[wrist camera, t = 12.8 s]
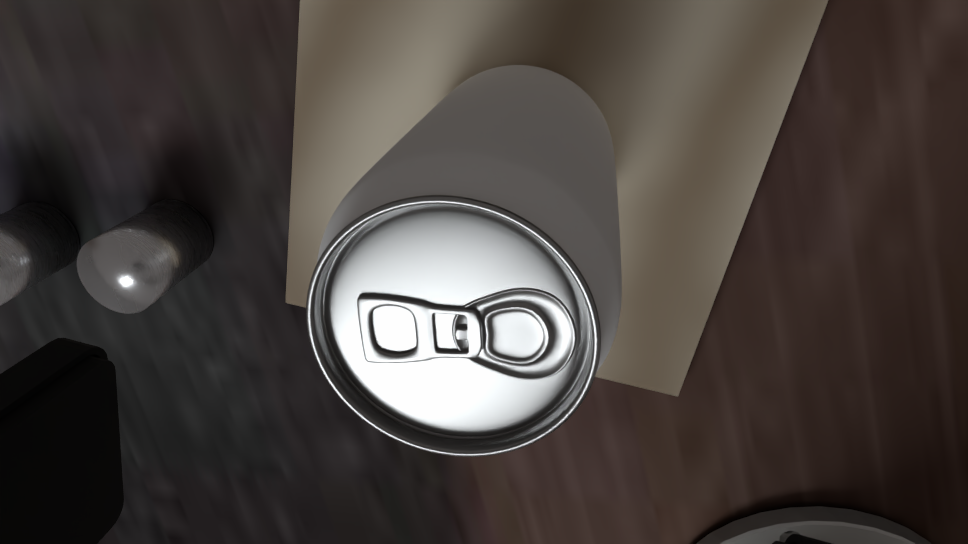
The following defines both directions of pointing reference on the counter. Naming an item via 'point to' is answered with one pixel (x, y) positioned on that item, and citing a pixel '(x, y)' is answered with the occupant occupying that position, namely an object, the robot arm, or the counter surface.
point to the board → (621, 99)
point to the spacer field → (105, 252)
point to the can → (475, 269)
